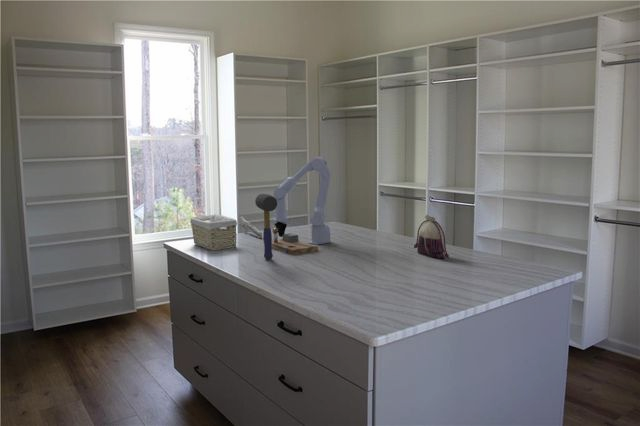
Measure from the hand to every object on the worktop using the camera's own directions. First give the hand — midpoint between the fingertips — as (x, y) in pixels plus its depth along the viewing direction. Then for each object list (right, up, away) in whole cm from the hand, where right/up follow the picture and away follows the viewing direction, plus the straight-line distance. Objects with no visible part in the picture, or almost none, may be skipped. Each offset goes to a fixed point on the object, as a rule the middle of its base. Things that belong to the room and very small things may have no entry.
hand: (281, 236), depth 289 cm
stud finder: (+5, -2, -7) cm, 9 cm away
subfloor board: (+6, -5, -15) cm, 17 cm away
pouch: (+70, -7, -38) cm, 80 cm away
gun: (-19, 0, +26) cm, 32 cm away
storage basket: (-34, -5, -3) cm, 35 cm away
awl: (-2, -2, -10) cm, 10 cm away
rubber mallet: (-3, -9, -37) cm, 38 cm away
